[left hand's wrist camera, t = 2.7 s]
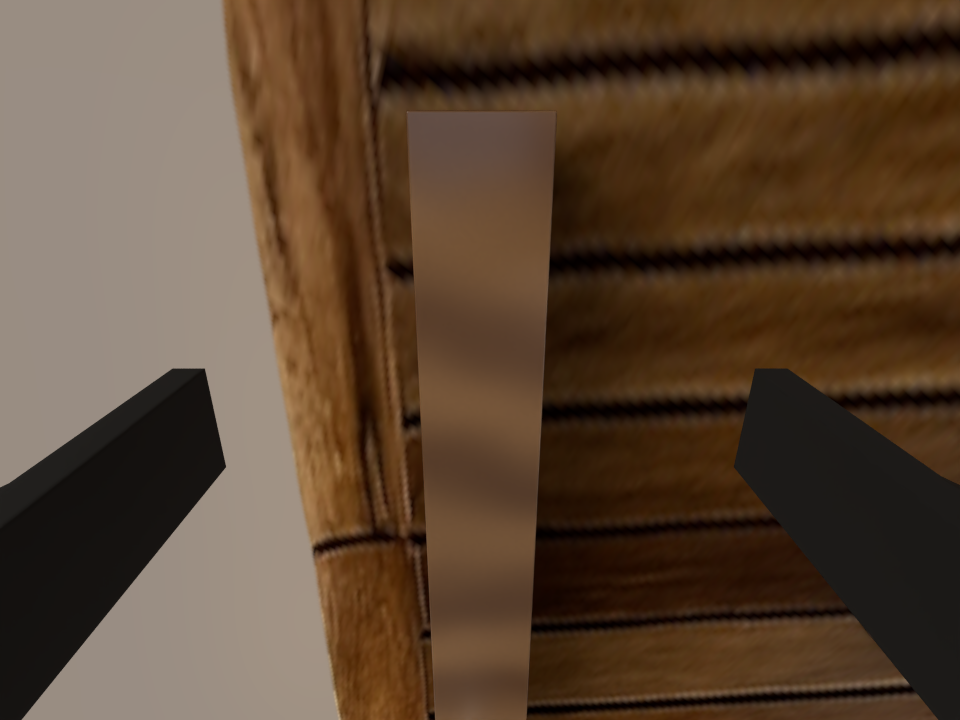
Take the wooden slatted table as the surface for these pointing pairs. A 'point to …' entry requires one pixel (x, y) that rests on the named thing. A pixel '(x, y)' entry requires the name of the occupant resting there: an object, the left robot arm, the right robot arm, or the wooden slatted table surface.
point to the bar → (481, 389)
